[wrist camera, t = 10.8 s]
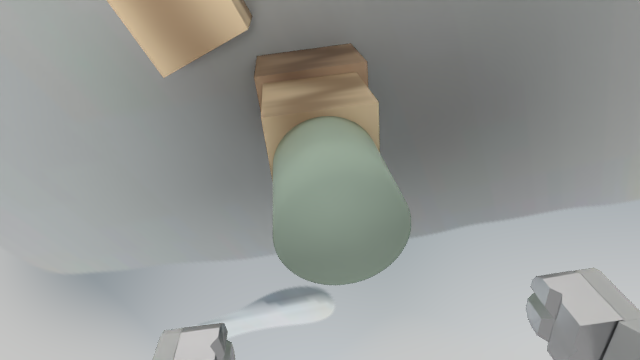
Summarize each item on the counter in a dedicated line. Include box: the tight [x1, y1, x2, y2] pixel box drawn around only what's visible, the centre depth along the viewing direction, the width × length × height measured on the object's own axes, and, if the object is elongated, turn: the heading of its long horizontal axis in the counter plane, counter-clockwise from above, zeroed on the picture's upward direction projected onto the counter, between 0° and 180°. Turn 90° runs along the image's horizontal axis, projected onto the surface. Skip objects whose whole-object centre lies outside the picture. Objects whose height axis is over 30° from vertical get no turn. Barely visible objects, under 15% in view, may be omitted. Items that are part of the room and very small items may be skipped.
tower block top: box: [261, 72, 380, 181], centre depth 20 cm, size 5×5×5 cm
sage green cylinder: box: [273, 116, 411, 285], centre depth 16 cm, size 5×5×5 cm
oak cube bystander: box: [107, 0, 252, 78], centre depth 20 cm, size 5×5×5 cm
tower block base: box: [254, 43, 368, 111], centre depth 24 cm, size 6×6×5 cm
